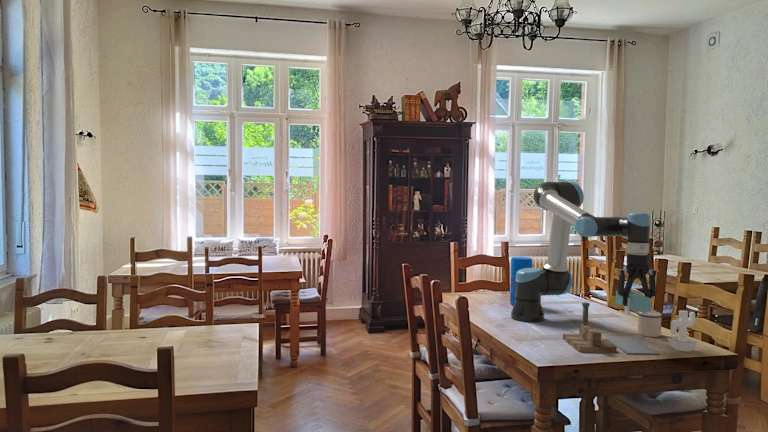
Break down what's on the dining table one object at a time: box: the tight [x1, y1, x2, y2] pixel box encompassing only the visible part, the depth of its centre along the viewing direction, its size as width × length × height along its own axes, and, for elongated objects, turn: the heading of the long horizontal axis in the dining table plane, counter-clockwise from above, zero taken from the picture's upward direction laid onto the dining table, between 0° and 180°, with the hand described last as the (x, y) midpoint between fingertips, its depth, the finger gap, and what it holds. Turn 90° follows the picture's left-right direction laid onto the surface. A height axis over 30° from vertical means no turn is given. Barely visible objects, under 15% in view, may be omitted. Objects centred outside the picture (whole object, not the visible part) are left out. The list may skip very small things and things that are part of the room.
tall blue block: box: [509, 256, 533, 307], centre depth 279 cm, size 11×11×25 cm
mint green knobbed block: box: [615, 289, 652, 313], centre depth 205 cm, size 16×6×5 cm, turn 0°
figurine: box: [667, 310, 698, 352], centre depth 202 cm, size 7×9×15 cm
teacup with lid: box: [637, 306, 663, 338], centre depth 225 cm, size 12×9×12 cm
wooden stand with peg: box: [562, 301, 618, 353], centre depth 206 cm, size 18×14×16 cm
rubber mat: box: [604, 337, 661, 356], centre depth 206 cm, size 20×12×1 cm, turn 0°
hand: (635, 314), depth 202 cm, fingers closed on mint green knobbed block, 6 cm apart
